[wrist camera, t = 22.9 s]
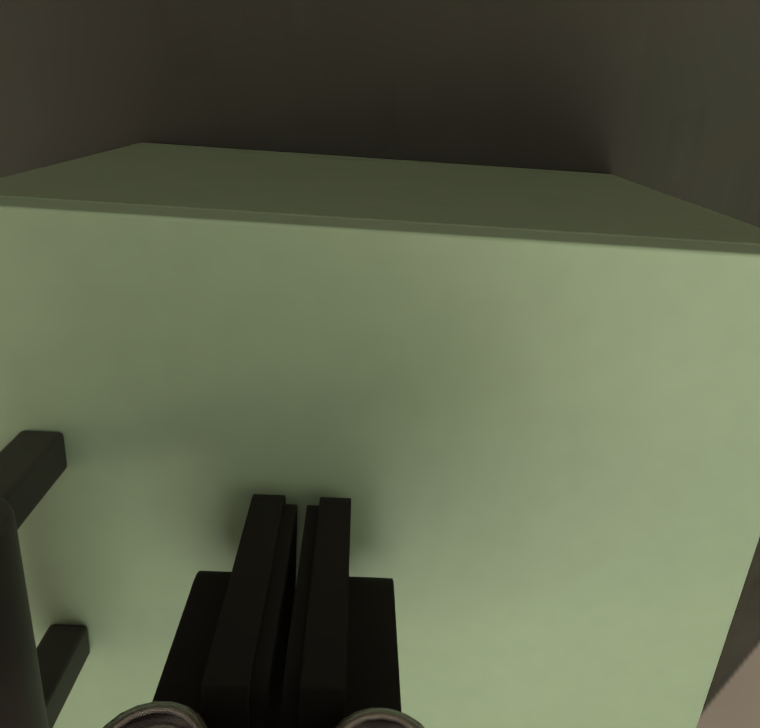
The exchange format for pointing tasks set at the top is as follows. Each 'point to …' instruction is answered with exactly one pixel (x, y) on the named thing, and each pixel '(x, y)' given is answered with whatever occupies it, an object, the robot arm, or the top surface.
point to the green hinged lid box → (376, 192)
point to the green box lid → (379, 449)
